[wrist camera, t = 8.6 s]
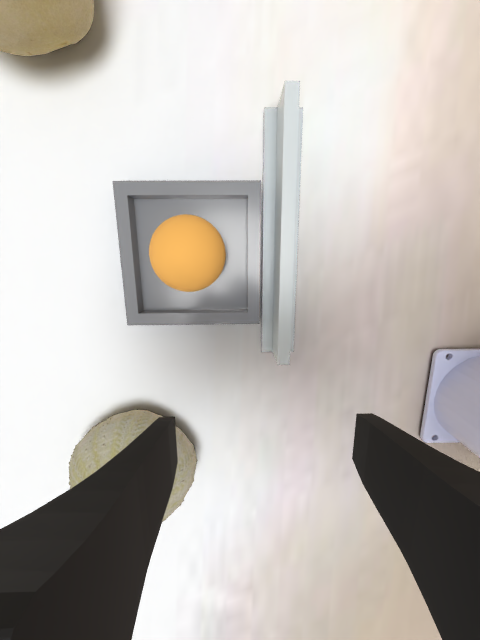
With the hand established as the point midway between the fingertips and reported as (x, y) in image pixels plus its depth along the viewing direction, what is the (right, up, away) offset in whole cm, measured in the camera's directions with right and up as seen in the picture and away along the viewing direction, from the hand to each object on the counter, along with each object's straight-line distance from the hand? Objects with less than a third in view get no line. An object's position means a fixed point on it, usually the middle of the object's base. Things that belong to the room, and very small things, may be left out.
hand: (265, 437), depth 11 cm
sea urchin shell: (-9, -6, +12) cm, 17 cm away
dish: (-4, +9, +9) cm, 13 cm away
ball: (-4, +9, +6) cm, 11 cm away
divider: (+2, +10, +8) cm, 13 cm away
